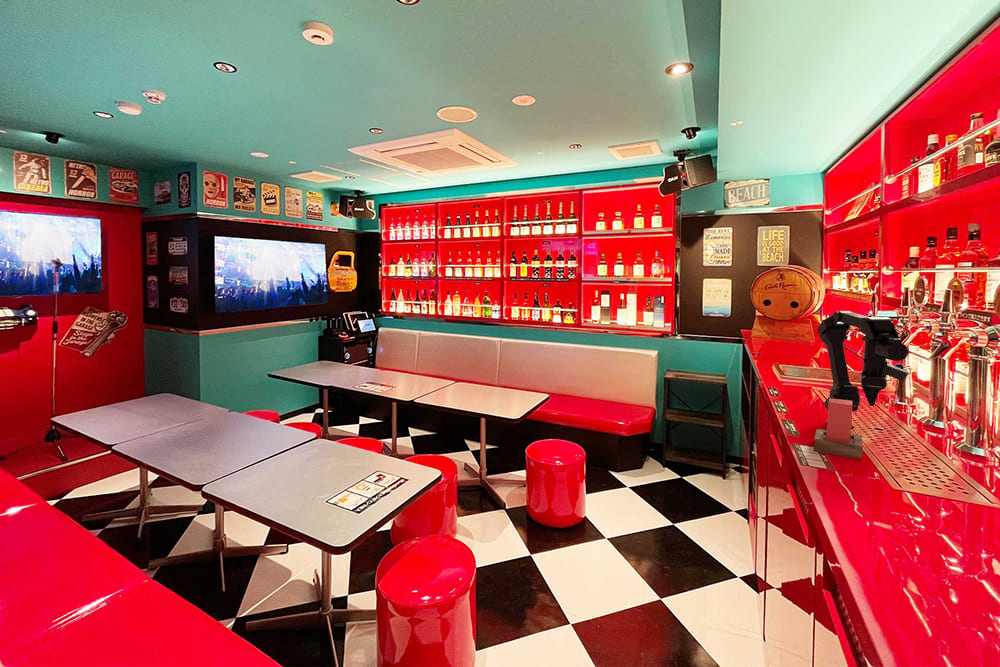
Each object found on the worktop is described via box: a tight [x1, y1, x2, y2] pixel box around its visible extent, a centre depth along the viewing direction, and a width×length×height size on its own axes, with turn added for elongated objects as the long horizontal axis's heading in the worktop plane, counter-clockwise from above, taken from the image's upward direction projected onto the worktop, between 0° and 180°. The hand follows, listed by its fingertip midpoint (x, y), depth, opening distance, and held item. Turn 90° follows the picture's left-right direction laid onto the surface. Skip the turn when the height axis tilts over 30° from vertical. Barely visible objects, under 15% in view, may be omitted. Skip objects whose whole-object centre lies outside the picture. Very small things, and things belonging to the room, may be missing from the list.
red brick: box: [826, 398, 853, 442], centre depth 148 cm, size 6×6×12 cm
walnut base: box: [813, 428, 864, 460], centre depth 148 cm, size 12×12×4 cm
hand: (871, 402), depth 154 cm, fingers open, 9 cm apart
